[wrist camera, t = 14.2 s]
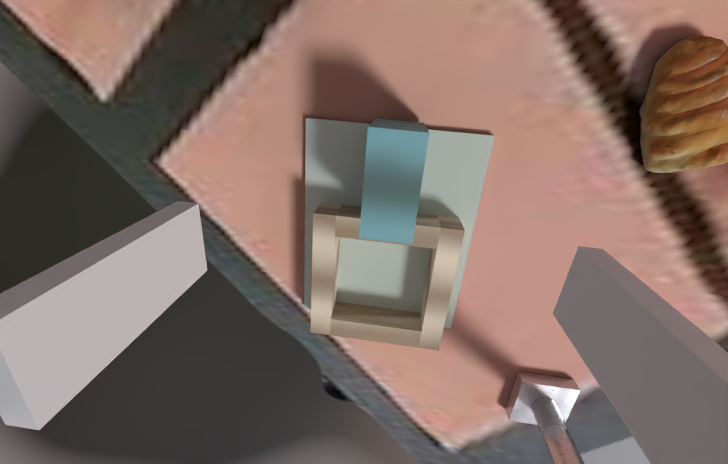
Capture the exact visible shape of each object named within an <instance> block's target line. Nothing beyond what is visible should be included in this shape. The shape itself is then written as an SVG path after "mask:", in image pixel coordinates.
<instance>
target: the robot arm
mask: <svg viewBox="0 0 728 464" xmlns="http://www.w3.org/2000/svg"><path fill="white" fill-rule="evenodd" d="M206 271H207V265H206V257H205V250H204V242H203V235H202V227H201V220H200V213H199V205H198V203H189V202H180V201H177V202H175V203H173V204H172V205H170V206H168V207H166V208H164V209H162V210H160V211H158V212H156V213H154V214H152V215H151V216H149V217H147V218H145V219H143V220H141V221H139V222H137V223H135V224H133V225H131V226H129V227H127V228H125V229H124V230H122V231H120V232H118V233H116V234H114V235H112V236H110V237H108V238H106V239H104V240H102V241H100V242H99V243H97V244H95V245H93V246H91V247H89V248H87V249H85V250H83V251H81V252H80V253H77V254H76V255H74V256H72V257H70V258H68V259H66V260H64V261H62V262H60V263H58V264H56V265H55V266H53V267H51V268H49V269H46V270H44V271H42V272H40V273H38V274H36V275H34V276H32V277H30V278H28V279H26V280H25V281H24V282H22V283H19V284H17V285H15V286H13V287H11V288H9V289H7V290H6V291H4V292H3V293H2V292H1V293H0V415H1V417H2V419H3V421H4V423H5V424H6V425H11V426H17V427H23V428H29V429H35V430H40V429H41V428H42V427H43V426H44V425H45V424H46V423H47V422H48V421H49V420H50V419H51V418H52V417H53V416H54V415H55V414H57V412H59V411H60V410H61V409H62V408H63V407H64V406H65V405H66V404H67V403H68V402H69V401H70V400H71V399H72V398H73V397H74V396H75V395H76V394H78V393H79V392H80V391H81V390H82V389H83V388H84V387H85V386H86V385H87V384H88V383H89V382H90V381H91V380H92V379H93V378H94V377H95V376H97V375H98V373H100V372H101V371H102V370H103V369H104V368H105V367H106V366H107V365H108V364H109V363H110V362H111V361H112V360H113V359H114V358H115V357H116V356H117V355H119V354H120V353H121V352H122V351H123V350H124V349H125V348H126V347H127V346H128V345H129V344H130V343H131V342H132V341H133V340H134V339H135V338H136V337H138V336H139V335H140V334H141V333H142V332H143V331H144V330H145V329H146V328H147V327H148V326H149V325H150V324H151V323H152V322H153V321H154V320H155V319H156V318H158V316H160V315H161V314H162V313H163V312H164V311H165V310H166V309H167V308H168V307H169V306H170V305H171V304H172V303H173V302H174V301H175V300H176V299H177V298H179V297H180V296H181V295H182V293H184V292H185V291H186V290H187V289H188V288H189V287H190V286H191V285H192V284H193V283H194V282H195V281H196V280H197V279H199V278H200V276H202V275H203V274H204V273H205V272H206ZM553 315H554V316H555V318H556V319H557V321H558V322H559V324H560V325H561V327H562V328H563V330H564V331H565V333H566V335H567V336H568V338H569V339H570V341H571V342H572V344H573V345H574V347H575V348H576V350H577V351H578V353H579V354H580V356H581V357H582V359H583V361H584V362H585V364H586V365H587V367H588V368H589V370H590V371H591V373H592V374H593V376H594V377H595V379H596V380H597V382H598V383H599V385H600V387H601V388H602V390H603V391H604V393H605V394H606V396H607V397H608V399H609V400H610V402H611V403H612V405H613V406H614V408H615V409H616V411H617V413H618V414H619V416H620V417H621V419H622V420H623V422H624V423H625V425H626V426H627V428H628V429H629V431H630V432H631V434H632V435H633V437H634V438H635V440H636V442H637V443H638V445H639V446H640V448H641V449H642V451H643V452H644V454H645V455H646V457H647V458H648V460H649V461H650V463H651V464H728V350H726V349H724V348H723V347H721V346H719V345H718V344H717V343H716V342H715V341H713V340H712V339H711V338H710V337H709V336H707V335H706V334H705V333H704V332H702V331H701V330H700V329H699V328H698V327H696V326H695V325H694V324H693V323H692V322H690V321H689V320H688V319H687V318H686V317H684V316H683V315H682V314H681V313H679V312H678V311H677V310H676V309H675V308H673V307H672V306H671V305H670V304H669V303H667V302H666V301H665V300H664V299H662V298H661V297H660V296H659V295H658V294H656V293H655V292H654V291H653V290H652V289H650V288H649V287H648V286H647V285H646V284H644V283H643V282H642V281H641V280H639V279H638V278H637V277H636V276H635V275H633V274H632V273H631V272H630V271H629V270H627V269H626V268H625V267H624V266H623V265H621V264H620V263H619V262H618V261H616V260H615V259H614V258H613V257H612V256H610V255H609V254H608V253H607V252H606V251H604V250H603V249H598V248H589V247H580V246H579V247H578V249H577V252H576V255H575V257H574V260H573V262H572V265H571V268H570V270H569V273H568V275H567V278H566V281H565V283H564V286H563V289H562V291H561V294H560V296H559V299H558V302H557V304H556V307H555V309H554V312H553Z"/></svg>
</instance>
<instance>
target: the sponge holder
mask: <svg viewBox="0 0 728 464" xmlns="http://www.w3.org/2000/svg"><path fill="white" fill-rule="evenodd" d="M428 139H429V131H428V129H427V128H426V126H425V124H424V123H419V122H409V121H398V120H387V119H377V118H376V119H375V120H374V121H373V122H372V123H371V124H370V125H369V126H368V133H367V145H366V157H365V169H364V182H363V194H362V206H361V207H357V206H348V205H339V204H330V203H320V205H319V206H318V207H317V209H316V210H315V211H314V213H313V246H312V293H311V332H312V333H319V334H326V335H333V336H340V337H347V338H355V339H362V340H369V341H376V342H383V343H390V344H397V345H404V346H412V347H419V348H426V349H433V350H439V347H440V342H441V338H442V333H443V329H444V324H445V319H446V315H447V310H448V306H449V301H450V297H451V292H452V287H453V283H454V278H455V274H456V269H457V265H458V260H459V255H460V251H461V246H462V242H463V237H464V233H465V230H464V227H463V225H462V223H461V220H460V218H454V217H445V216H437V215H428V214H419V213H417V211H418V205H419V198H420V192H421V185H422V178H423V172H424V165H425V159H426V152H427V146H428ZM340 237H341V238H349V239H357V240H366V241H374V242H383V243H391V244H399V245H408V246H416V247H424V248H432V250H431V256H430V261H429V267H428V272H427V278H426V283H425V289H424V294H423V300H422V306H421V311H420V313H418V312H410V311H403V310H395V309H388V308H380V307H373V306H365V305H358V304H350V303H343V302H336V298H337V281H338V263H339V246H340Z"/></svg>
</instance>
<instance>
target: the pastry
mask: <svg viewBox="0 0 728 464" xmlns="http://www.w3.org/2000/svg"><path fill="white" fill-rule="evenodd" d="M639 113H640V116H641V137H640V143H641V153H642V156H643V163H644V166H645V169H646V170H648V171H651V172H675V171H682V170H697V169H701V168H707V167H712V166H716V165H720V164H724V163H726V162H728V47H727V45H726V44H725V43H724V41H723V40H720V39H716V38H712V37H706V36H693V37H690V38H686V39H684V40H681V41H679V42H678V43H676V44H675V45H673V46H672V47H671V48H670V49H669V50H668V51H667V52H666V53H665V54H664V55H663V56H662V57H661V58H660V59H659V60H658V61H657V63H656V65H655V67H654V70H653V73H652V78H651V80H650V85H649V87H648V90H647V93H646V97H645V100H644V101H643V103H642V105H641V108H640V111H639Z"/></svg>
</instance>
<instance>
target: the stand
mask: <svg viewBox="0 0 728 464" xmlns="http://www.w3.org/2000/svg"><path fill="white" fill-rule="evenodd" d="M579 392H580V389H579V387H578V386H577V384H576V382H575V381H574V379H568V378H561V377H554V376H547V375H540V374H532V373H525V372H518V374H517V377H516V380H515V383H514V386H513V389H512V391H511V394H510V397H509V400H508V403H507V406H506V409H505V410H506V413H507V416H508V419H509V421H516V422H522V423H529V424H535V425H538V427H539V429H540V432H541V434H542V437H543V439H544V442H545V444H546V447H547V449H548V452H549V454H550V457H551V459H552V462H553V464H585V463H584V462H583V459H582V457H581V455H580V453H579V451H578V449H577V447H576V445H575V443H574V441H573V439H572V437H571V435H570V432H569V430H568V428H567V426H566V424H565V422H566V420H567V418H568V416H569V414H570V411H571V409H572V407H573V405H574V403H575V401H576V398H577V396H578V394H579Z"/></svg>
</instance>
